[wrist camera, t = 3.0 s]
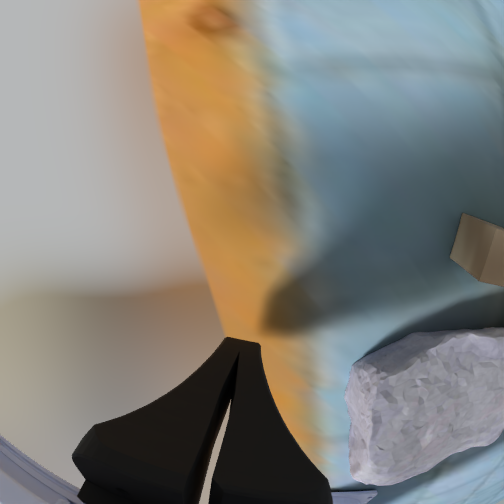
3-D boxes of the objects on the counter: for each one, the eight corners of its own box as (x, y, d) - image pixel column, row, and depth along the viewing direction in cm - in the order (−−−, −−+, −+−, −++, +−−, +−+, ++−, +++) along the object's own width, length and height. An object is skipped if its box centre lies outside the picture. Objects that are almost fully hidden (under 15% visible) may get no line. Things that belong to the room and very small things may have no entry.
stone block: (334, 328, 14) (344, 455, 15) (350, 376, 10) (352, 507, 10) (507, 280, 12) (490, 405, 13) (557, 298, 8) (519, 440, 9)
